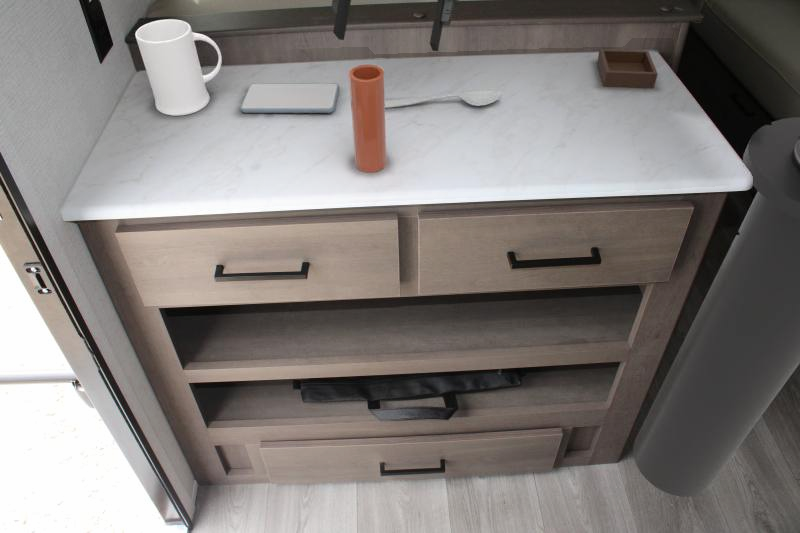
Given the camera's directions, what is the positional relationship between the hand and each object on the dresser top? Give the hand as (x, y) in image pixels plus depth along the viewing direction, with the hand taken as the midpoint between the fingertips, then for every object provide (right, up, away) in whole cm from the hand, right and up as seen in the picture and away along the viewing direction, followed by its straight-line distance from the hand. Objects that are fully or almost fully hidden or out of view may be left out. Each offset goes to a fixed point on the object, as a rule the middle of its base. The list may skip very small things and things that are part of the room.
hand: (385, 42), depth 86 cm
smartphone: (-16, -4, +16) cm, 23 cm away
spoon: (+8, -5, +15) cm, 18 cm away
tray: (+40, +2, +21) cm, 46 cm away
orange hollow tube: (-2, -16, +4) cm, 17 cm away
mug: (-32, -4, +17) cm, 36 cm away
